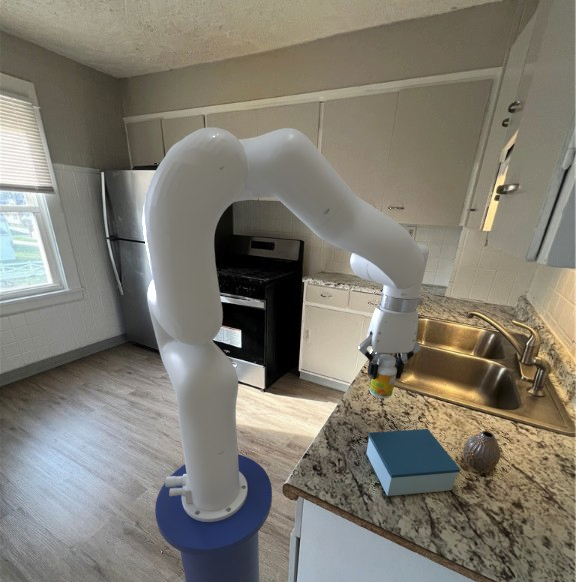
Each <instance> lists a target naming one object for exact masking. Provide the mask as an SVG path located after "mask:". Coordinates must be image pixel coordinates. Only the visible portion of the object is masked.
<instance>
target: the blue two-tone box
mask: <svg viewBox="0 0 576 582" xmlns="http://www.w3.org/2000/svg"><path fill="white" fill-rule="evenodd" d="M367 436H368V440H367V446H366V456H367V458H368V460H369V462H370V464H371V466H372V468H373V470H374V472H375V474H376V476H377V478H378V480H379V482H380V484H381V487H382V488H383V491H384V492H385V495H386V496H387V497H393V496H402V495H414V494H415V495H416V494H424V493H434V492H445V491H446V492H447V491H453V487H454V484H455V482H456V479H457V476H458V474H459V473H461V470H462V469H461V468H460V466H459V465H458V464H457V463H456V461H455V460H454V459H453V458H452V457H451V456H450V454H449V453H448V452H447V451H446V449H445V448H444V447H443V445H442V444H441V443H440V442H439V440H438V439H437V438H436V437H435V436H434V434H433V433H432V432H431V431H430V429H429V428H418V429H403V430H392V431H391V430H390V431H387V430H386V431H374V432H368V435H367Z"/></svg>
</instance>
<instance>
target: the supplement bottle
mask: <svg viewBox="0 0 576 582" xmlns="http://www.w3.org/2000/svg"><path fill="white" fill-rule="evenodd" d="M396 358H397V357H395V356H394V355H391V354H388V353H382V354H381V356H380V357H379V359H378V361H377V364H378V371H377V376H376V379H372V378H371V381H370V386H369V392H370V394H371V395H372V396H373V397H375V398H379V399H389V398H390V397H392V395H393V392H394V387H395V383H396V379H397V378H396V373H397V368H396V367H395V366H394V365H395V364H396Z"/></svg>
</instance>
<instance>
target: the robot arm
mask: <svg viewBox="0 0 576 582" xmlns="http://www.w3.org/2000/svg"><path fill="white" fill-rule="evenodd" d="M262 198H275V199H276V200H278V201H279V202H281V204H282V205H284V206H285V207H286V208H287V209H288V210H289V211H290V212H291V213H292V214H293V215H295V217H297V219H299V220H300V221H301V222H302V223H303V224H304V225H305V226H306V227H307V228H308V229H309V230H311V231H312V232H313V234H314V235H316V236H317V237H318V238H320V239H321V240H323V241H325V243H328V244H330V245H332V246H334V247H335V248H338V249H341V250H344V251H347V252H349V253H351V256H350V259H349V261H350V262H349V264H350V268H351V270H352V272H353V273H354V274H355V275H356V276H357V277H358V278H360V279H363V280H365V281H369V282H371V283H375V284H376V283H377V284H380V285H383V286H382V292H381V297H380V303H379V305H376V307H375V309H374V311H373V313H372V316H371V319H370V323H369V326H368V329H367V334H366V338H365V339H364V340H363V341H362V342H361V343H360V344H359V345H358V346H357V349H358V351H359V352H360V353H362V354H363V356H365V357H366V358H367V359H368V366H367V374H368V376H369V377H370V378H371V380H372V379H376V376H377V371H378V364H377V363H378V359H379V357H380V356H381V355H382V354H396V357H395V358H396V364H395V365H394V366H395V367H396V368H397V373H396V378H395V379H398V380H400V379H401V377H402V374H403V373H404V367H405V365H406V364H407V363H408V362H409V360H410V359H411V358H413V357H414V356H415V355H416V354H417V353H419V352H420V351H421V350H422V346H421V345H420V344H419V341H418V340H417V335H418V329H419V311H418V310H417V309H418V306H419V305H423V303H424V298H422V297H420V295H421V291H422V290H421V289H422V285H423V281H424V277H425V272H426V268H427V263H428V259H429V254H430V252H429V247H428V246H427V245H425V244H422V243H417V242H416V241H415V239H414V238H413V236H411V234H410V232H409V231H408V230H407V229H406V228H404V226H402V225H401V224H400V223H399V222H397V221H396V220H394V219H393V218H392V217H390V216H388V215H387V214H385V213H384V212H382V211H381V210H380V209H377V208H376V207H375V206H374V205H372V204H370V203H369V202H367V201H366V200H364V199H362V198H361V197H360V196H358V195H357V194H356V193H355V192H354V191H353V190H352V188H350V186H349V185H348V184H347V183H346V181H344V179H343V178H342V176H340V174H339V173H338V172H337V170H335V168H334V167H333V166H332V165H331V163H330V162H329V161H328V159H326V157H325V156H324V155H323V153H321V151H320V150H319V149H318V148H317V146H316V145H315V144H314V143H313V142H312V140H310V138H309V137H307V135H306V134H304V133H303V132H302V131H300V130H298V129H295V128H291V127H285V128H279V129H275V130H273V131H269V132H267V133H264V134H261V135H258V136H254V137H249V138H240V139H238V138H237V136H235V135H234V134H233V133H232V132H230V131H228V130H227V129H223V128H221V127H220V128H219V127H211V126H210V127H203V128H199V129H196V130H195V131H193V132H191V133H190V134H188V135H186V136H185V137H184V138H182V139H181V140H179V141H177V142H175V143H174V144H173V145H172V146H171V147H170V148H169V149H168V151H167V152H166V154H165V156H164V158H163V159H162V160H161V161H160V163H159V165H157V168H156V170H155V172H154V173H153V175H152V177H151V179H150V181H149V185H148V188H147V191H146V194H145V197H144V202H143V210H142V226H143V228H142V229H143V236H144V237H143V238H144V242H145V248H146V253H147V258H148V263H149V270H150V274H151V277H152V278H151V279H152V280H151V282H150V284H149V286H148V289H147V296H146V297H147V306H148V310H149V315H150V320H151V323H152V327H153V331H154V335H155V339H156V344H157V347H158V351H159V354H160V358H161V361H162V365H163V367H164V369H165V371H166V373H167V374H168V377H169V381H170V382H171V384H172V387H173V390H174V393H175V398H176V402H177V417H178V418H177V419H178V427H179V434H180V440H181V445H182V453H183V459H184V464H185V466H186V472H187V474H183V476H179V477H176V476H171V475H170V476H171V477H170V476H166V477H165V480H164V483H165V486H166V487H176V486H182V487H183V488H170V491H169V496H177V495H182V504H183V507H184V510H185V511H186V513H187V514H188V515H189V516H191V517H192V518H194V519H196V520H198V521H202V522H217V521H220V520H224V519H226V518H228V517H230V516H232V515H233V514H235V513H236V512H237V511H238V510H239V509H240V508H241V507H242V505H243V504H244V502H245V500H246V497H247V493H248V487H247V481H246V479H245V477H244V475H243V474H242V473H241V472H239V465H238V454H239V449H238V430H237V411H236V410H237V399H238V391H239V377H238V373H237V370H236V368H235V366H234V365H233V363H232V361H231V360H230V358H229V357H228V356H227V355H226V353H225V352H223V350H222V349H221V348H220V347H219V346H218V345H217V344H216V343H215V342H214V341H213V340H214V339H215V338H216V337H217V335H218V334H219V332H220V331H221V328H222V325H223V319H224V315H223V314H224V312H223V305H222V298H221V291H220V286H219V285H220V284H219V278H218V271H217V265H216V252H215V233H216V229H217V226H218V224H219V221H220V219H221V217H222V216H223V214H224V212H226V210H227V209H228V207H230V206H231V205H232V204H233V203H237V202H243V201H250V200H255V199H262ZM369 347H371V349H370V351H369V350H368V348H369Z"/></svg>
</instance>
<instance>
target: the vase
mask: <svg viewBox="0 0 576 582" xmlns="http://www.w3.org/2000/svg"><path fill="white" fill-rule="evenodd" d="M462 455H463V459H464V460H465V463H466V464H467V465H468V466H469V467H470V468H471V469H472V470H475V471H478V472H489V471H491V470H493V469H494V468H495V467H496V466H497V465H498V464H499V462H500V459H501V448H500V445H499V444H498V441H497V440H496V437H495V434H494V433H492V432H491V431H489V430H482V431H480V432H479V433H476V434H474V435H472V436H470V437H469V438H467V440H466V442H465V443H464V445H463V448H462Z"/></svg>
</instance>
